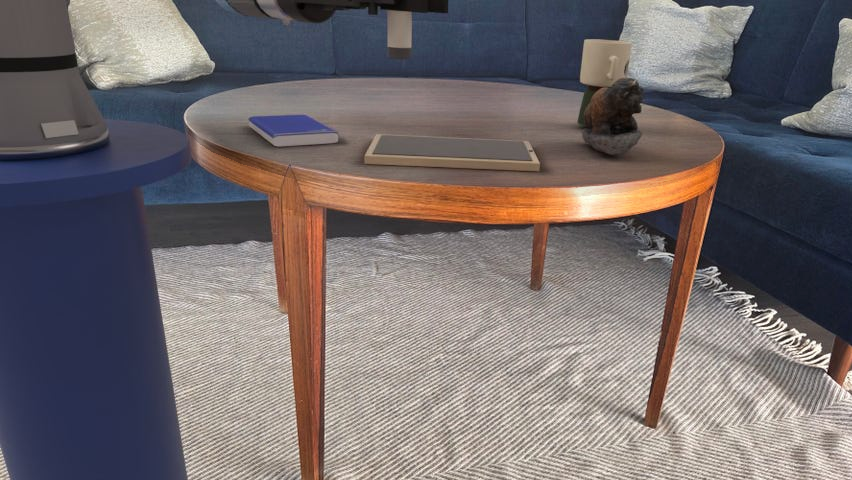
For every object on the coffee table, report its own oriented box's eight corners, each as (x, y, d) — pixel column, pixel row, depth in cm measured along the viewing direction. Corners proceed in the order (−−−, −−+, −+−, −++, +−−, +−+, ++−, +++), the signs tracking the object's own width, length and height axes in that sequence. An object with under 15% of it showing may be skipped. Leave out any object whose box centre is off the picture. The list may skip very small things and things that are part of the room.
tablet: (364, 164, 73) (364, 154, 72) (376, 141, 84) (376, 133, 84) (539, 171, 74) (540, 162, 74) (528, 148, 85) (528, 140, 85)
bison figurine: (570, 141, 91) (578, 67, 87) (618, 142, 92) (628, 69, 88) (595, 162, 80) (605, 78, 76) (649, 163, 81) (662, 80, 77)
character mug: (629, 136, 97) (642, 45, 92) (583, 134, 96) (594, 42, 91) (609, 122, 107) (620, 39, 102) (567, 121, 106) (576, 37, 101)
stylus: (382, 56, 76) (382, -57, 71) (402, 56, 78) (403, -55, 73) (396, 59, 74) (396, -57, 69) (416, 58, 76) (417, -55, 71)
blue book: (338, 130, 81) (307, 113, 91) (272, 134, 77) (247, 116, 87) (338, 142, 82) (308, 125, 92) (273, 147, 78) (248, 127, 88)
